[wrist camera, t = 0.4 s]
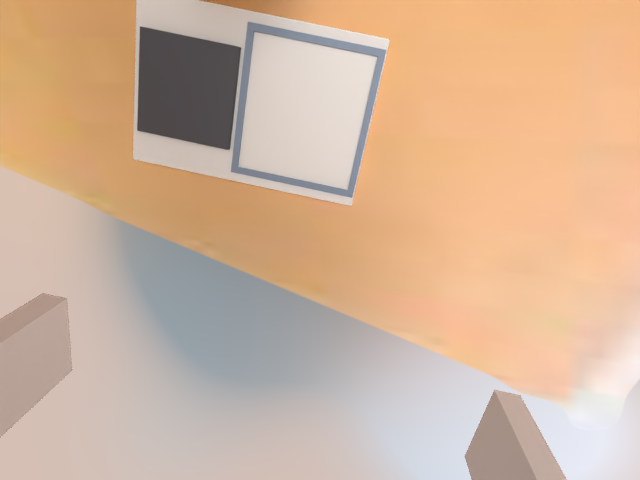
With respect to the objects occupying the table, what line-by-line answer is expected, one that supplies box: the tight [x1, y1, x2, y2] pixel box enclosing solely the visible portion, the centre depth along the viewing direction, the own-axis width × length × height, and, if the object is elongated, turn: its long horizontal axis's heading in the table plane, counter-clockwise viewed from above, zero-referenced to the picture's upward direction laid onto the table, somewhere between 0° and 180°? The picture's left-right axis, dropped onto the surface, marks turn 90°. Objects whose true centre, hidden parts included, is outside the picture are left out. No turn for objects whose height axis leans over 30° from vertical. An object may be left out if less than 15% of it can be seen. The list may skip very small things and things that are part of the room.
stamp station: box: [133, 0, 390, 206], centre depth 35 cm, size 15×22×1 cm
